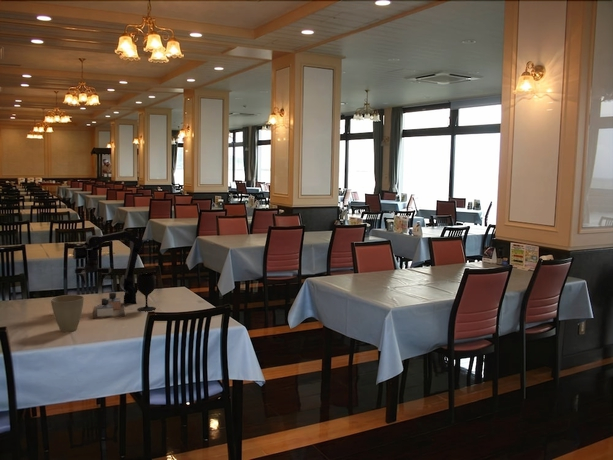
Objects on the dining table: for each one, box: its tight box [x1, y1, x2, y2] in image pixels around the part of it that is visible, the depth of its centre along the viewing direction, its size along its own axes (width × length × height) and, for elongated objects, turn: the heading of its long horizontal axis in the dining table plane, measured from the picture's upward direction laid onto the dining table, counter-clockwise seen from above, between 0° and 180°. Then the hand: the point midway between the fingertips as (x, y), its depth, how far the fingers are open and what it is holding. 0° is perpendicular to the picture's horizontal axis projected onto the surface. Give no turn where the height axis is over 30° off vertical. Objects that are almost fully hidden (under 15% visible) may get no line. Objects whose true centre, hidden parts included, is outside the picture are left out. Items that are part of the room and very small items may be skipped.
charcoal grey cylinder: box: [108, 292, 117, 301], centre depth 317 cm, size 4×4×8 cm
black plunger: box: [101, 297, 109, 307], centre depth 302 cm, size 4×4×8 cm
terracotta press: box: [108, 297, 121, 309], centre depth 317 cm, size 8×8×4 cm
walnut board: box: [92, 304, 126, 320], centre depth 310 cm, size 16×26×1 cm, turn 20°
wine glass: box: [136, 272, 157, 313], centre depth 316 cm, size 10×10×20 cm
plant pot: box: [50, 294, 85, 333], centre depth 273 cm, size 15×15×16 cm
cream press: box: [96, 304, 113, 317], centre depth 302 cm, size 8×8×4 cm
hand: (93, 285), depth 318 cm, fingers open, 9 cm apart
